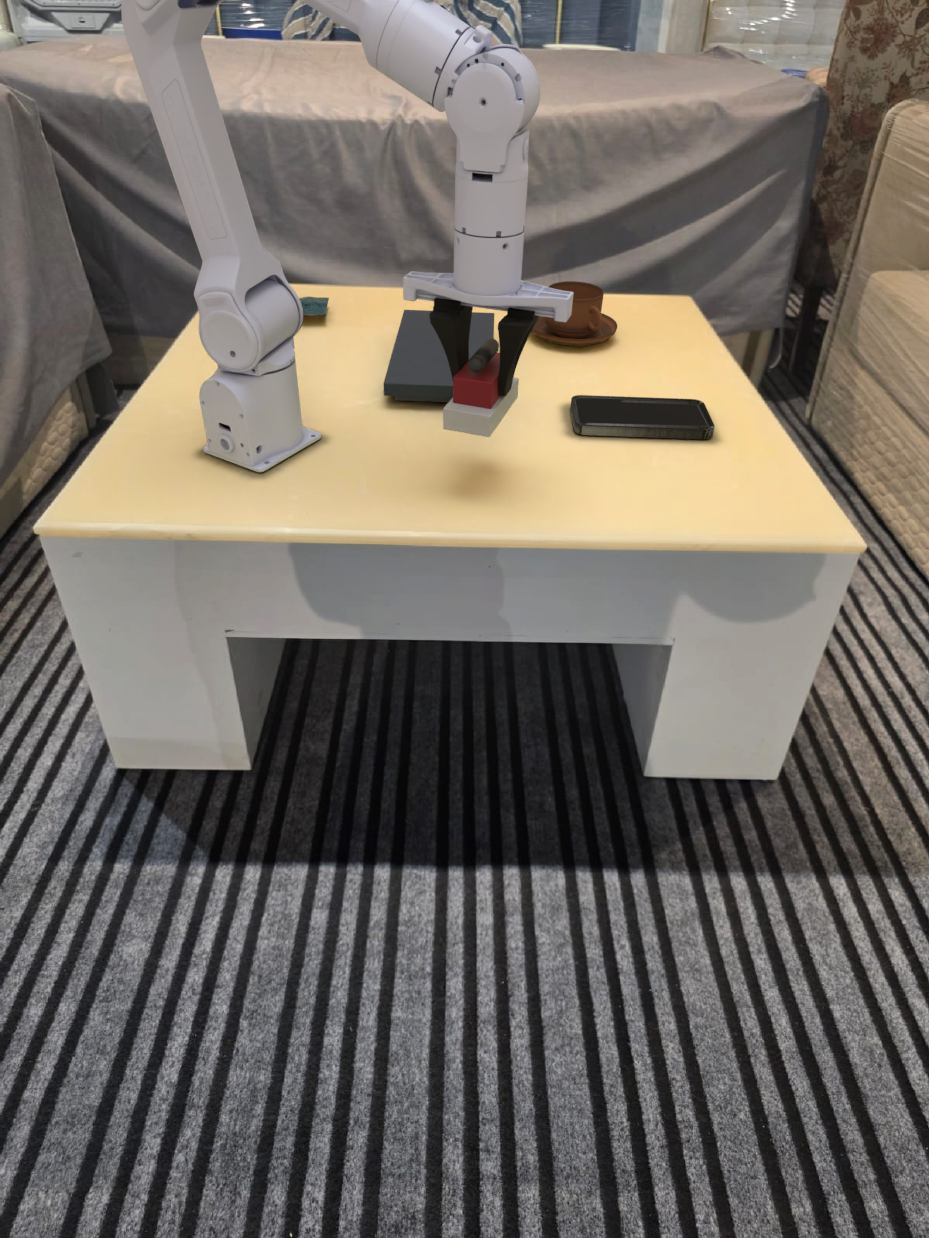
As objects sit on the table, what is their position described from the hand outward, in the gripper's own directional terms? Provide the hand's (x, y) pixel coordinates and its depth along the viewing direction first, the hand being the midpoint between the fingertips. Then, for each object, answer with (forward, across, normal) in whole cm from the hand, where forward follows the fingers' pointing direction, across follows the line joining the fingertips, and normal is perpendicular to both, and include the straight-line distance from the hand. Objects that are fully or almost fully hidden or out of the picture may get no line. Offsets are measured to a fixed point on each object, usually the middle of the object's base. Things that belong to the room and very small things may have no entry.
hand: (482, 388), depth 76 cm
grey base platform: (+9, +12, -25) cm, 29 cm away
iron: (+2, 0, 0) cm, 2 cm away
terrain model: (+10, +39, -33) cm, 52 cm away
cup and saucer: (+10, 0, -41) cm, 42 cm away
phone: (+9, -13, -18) cm, 24 cm away
